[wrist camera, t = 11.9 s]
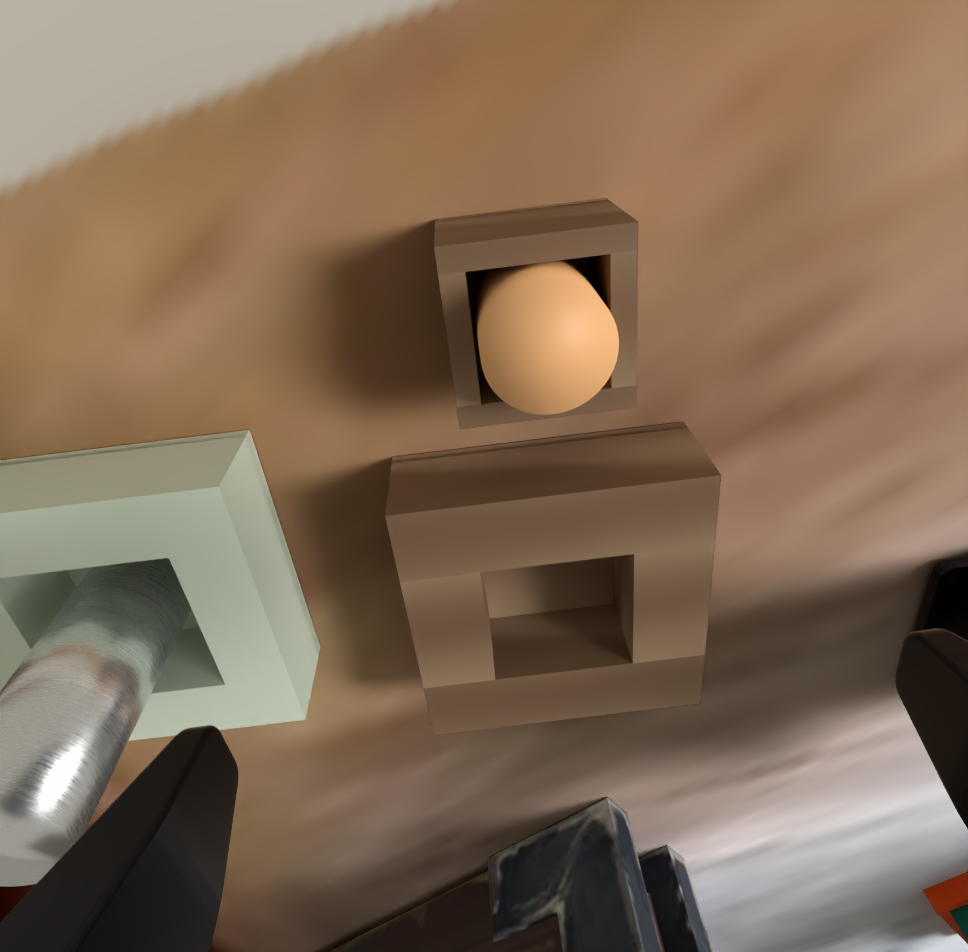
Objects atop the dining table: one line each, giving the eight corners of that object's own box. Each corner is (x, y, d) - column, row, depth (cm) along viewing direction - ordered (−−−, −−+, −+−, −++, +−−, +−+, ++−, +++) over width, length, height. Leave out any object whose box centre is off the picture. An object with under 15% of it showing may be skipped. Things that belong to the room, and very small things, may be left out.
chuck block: (671, 634, 25) (700, 703, 22) (434, 663, 25) (434, 735, 22) (683, 421, 20) (721, 474, 18) (392, 457, 20) (384, 515, 18)
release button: (589, 350, 18) (619, 405, 15) (479, 363, 18) (487, 422, 15) (585, 236, 17) (618, 273, 14) (466, 251, 17) (472, 291, 14)
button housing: (608, 360, 19) (636, 407, 17) (457, 379, 19) (459, 429, 17) (606, 198, 17) (638, 221, 14) (435, 219, 17) (434, 247, 14)
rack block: (320, 647, 24) (305, 719, 22) (77, 676, 24) (31, 752, 22) (249, 429, 20) (218, 486, 17) (-51, 466, 20) (-129, 529, 17)
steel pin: (215, 605, 23) (95, 877, 15) (121, 616, 23) (-48, 894, 15) (184, 528, 21) (31, 787, 13) (83, 539, 21) (-129, 805, 13)
